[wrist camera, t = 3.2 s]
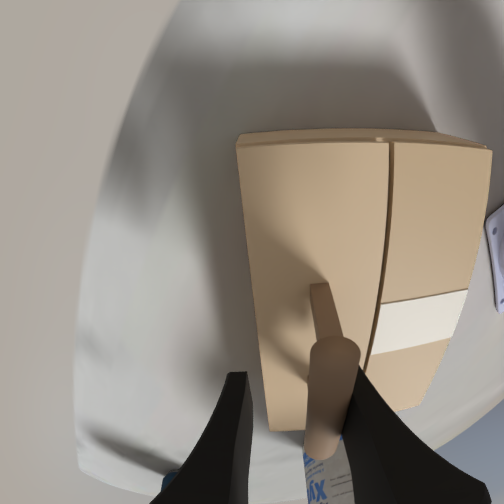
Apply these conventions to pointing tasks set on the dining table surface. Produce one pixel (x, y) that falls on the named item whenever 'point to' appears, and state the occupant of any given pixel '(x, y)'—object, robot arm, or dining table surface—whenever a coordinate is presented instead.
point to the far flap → (313, 275)
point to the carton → (416, 248)
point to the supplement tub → (329, 478)
